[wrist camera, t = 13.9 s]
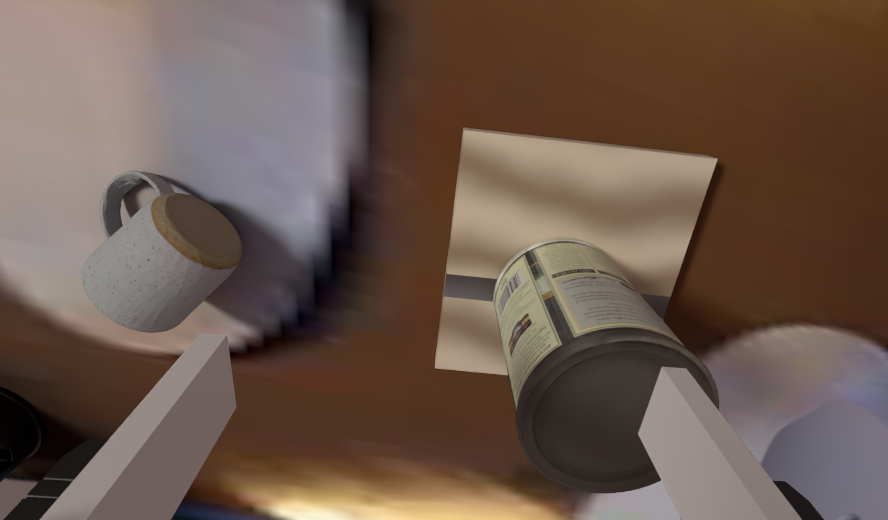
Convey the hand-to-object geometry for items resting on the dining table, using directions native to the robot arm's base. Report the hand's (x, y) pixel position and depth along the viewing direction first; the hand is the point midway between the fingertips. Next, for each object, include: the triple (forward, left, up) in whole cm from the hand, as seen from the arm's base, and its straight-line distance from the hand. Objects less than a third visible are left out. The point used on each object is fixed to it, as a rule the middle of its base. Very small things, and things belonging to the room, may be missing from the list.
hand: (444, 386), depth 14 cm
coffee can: (+7, +10, -21) cm, 24 cm away
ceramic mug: (+5, -21, -23) cm, 31 cm away
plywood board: (+5, +10, -23) cm, 25 cm away
